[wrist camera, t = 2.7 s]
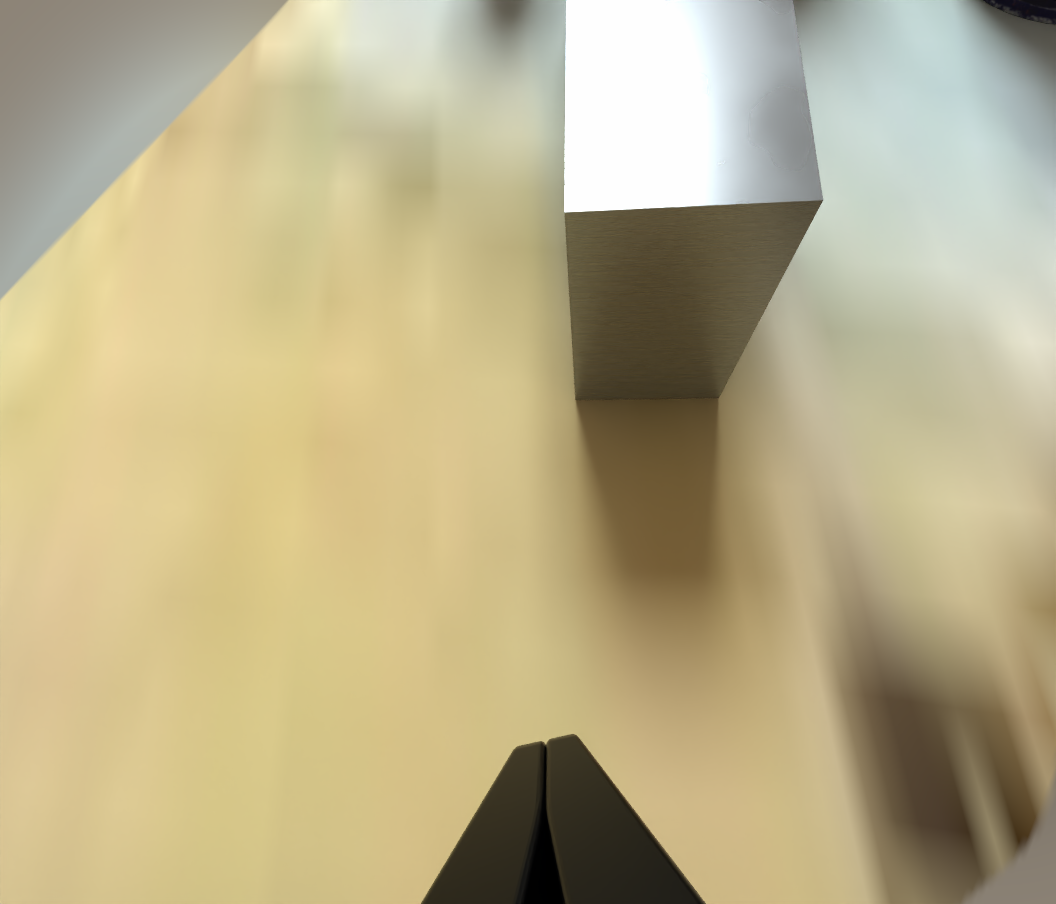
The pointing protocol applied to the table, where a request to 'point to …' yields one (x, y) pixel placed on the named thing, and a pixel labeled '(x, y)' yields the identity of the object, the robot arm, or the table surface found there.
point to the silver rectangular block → (680, 187)
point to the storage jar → (1028, 9)
